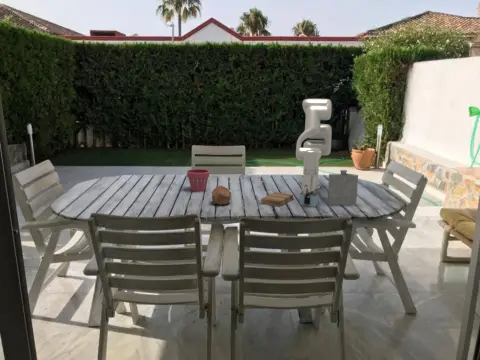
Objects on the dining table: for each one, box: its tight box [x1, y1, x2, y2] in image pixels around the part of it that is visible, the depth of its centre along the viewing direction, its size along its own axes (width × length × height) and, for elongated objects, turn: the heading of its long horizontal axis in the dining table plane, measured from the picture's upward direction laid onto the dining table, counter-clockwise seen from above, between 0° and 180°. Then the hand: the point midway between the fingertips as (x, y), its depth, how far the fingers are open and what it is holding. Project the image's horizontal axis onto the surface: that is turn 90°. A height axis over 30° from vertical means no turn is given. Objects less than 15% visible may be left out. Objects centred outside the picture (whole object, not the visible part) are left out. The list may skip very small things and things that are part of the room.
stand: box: [260, 191, 294, 208], centre depth 237 cm, size 18×12×3 cm, turn 149°
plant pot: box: [186, 168, 210, 192], centre depth 262 cm, size 14×14×13 cm
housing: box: [299, 191, 319, 208], centre depth 230 cm, size 5×9×7 cm, turn 59°
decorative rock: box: [211, 185, 232, 206], centre depth 232 cm, size 13×11×10 cm
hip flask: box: [327, 169, 359, 206], centre depth 229 cm, size 16×4×20 cm, turn 83°
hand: (308, 202), depth 231 cm, fingers closed on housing, 5 cm apart
